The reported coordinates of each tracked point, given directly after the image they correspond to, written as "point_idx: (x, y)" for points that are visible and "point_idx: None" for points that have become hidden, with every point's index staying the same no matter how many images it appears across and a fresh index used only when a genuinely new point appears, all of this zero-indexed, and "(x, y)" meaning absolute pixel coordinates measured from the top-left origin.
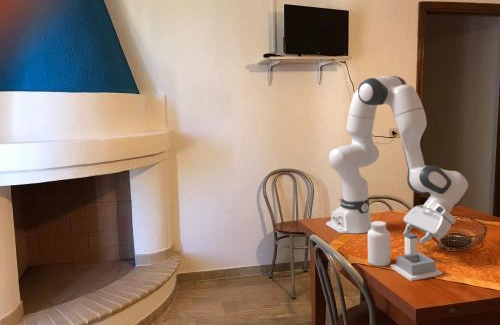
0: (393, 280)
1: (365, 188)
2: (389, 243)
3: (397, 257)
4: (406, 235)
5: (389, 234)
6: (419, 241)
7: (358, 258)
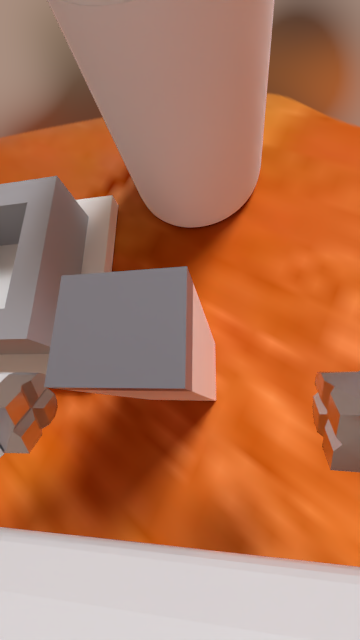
0: (13, 169)
1: None
2: (92, 90)
3: (50, 180)
4: (141, 274)
5: None
6: (21, 373)
7: (293, 108)
